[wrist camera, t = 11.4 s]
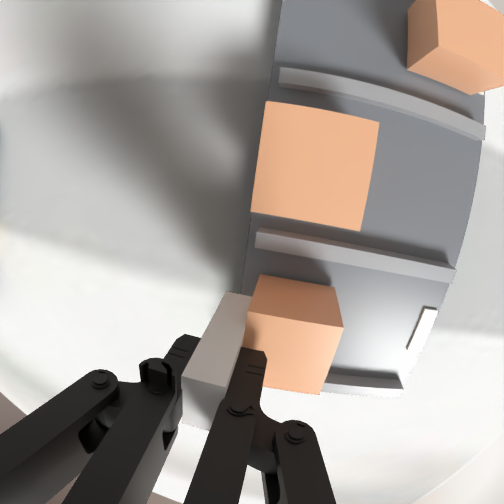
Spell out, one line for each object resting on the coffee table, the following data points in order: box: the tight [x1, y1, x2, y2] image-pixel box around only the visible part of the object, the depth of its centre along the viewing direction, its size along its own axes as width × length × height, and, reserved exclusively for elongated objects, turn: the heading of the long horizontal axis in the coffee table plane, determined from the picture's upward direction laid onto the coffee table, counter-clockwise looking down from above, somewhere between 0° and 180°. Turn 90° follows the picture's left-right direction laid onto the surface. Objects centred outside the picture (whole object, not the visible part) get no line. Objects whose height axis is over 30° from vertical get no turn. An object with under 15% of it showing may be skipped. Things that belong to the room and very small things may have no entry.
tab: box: [407, 0, 504, 95], centre depth 8 cm, size 4×4×4 cm
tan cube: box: [242, 274, 344, 395], centre depth 14 cm, size 4×4×4 cm
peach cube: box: [250, 101, 379, 231], centre depth 12 cm, size 4×4×4 cm
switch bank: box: [240, 0, 486, 398], centre depth 14 cm, size 26×12×3 cm, turn 172°
